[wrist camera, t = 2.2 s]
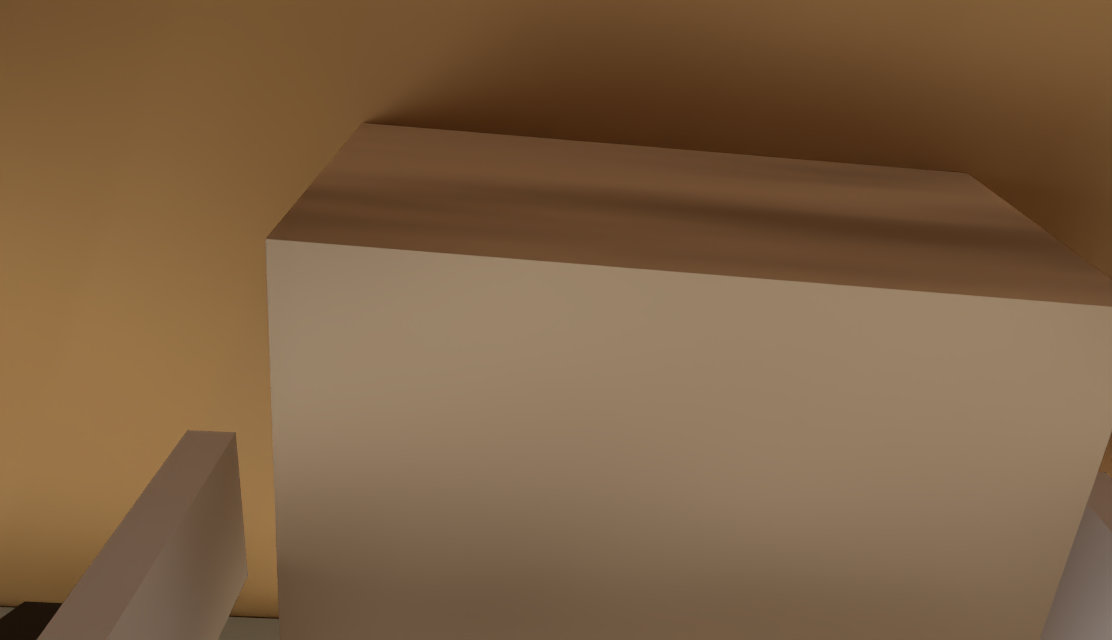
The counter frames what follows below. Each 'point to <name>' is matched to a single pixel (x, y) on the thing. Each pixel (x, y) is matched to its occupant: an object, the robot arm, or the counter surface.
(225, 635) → the board
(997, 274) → the oak brick
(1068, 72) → the counter surface
